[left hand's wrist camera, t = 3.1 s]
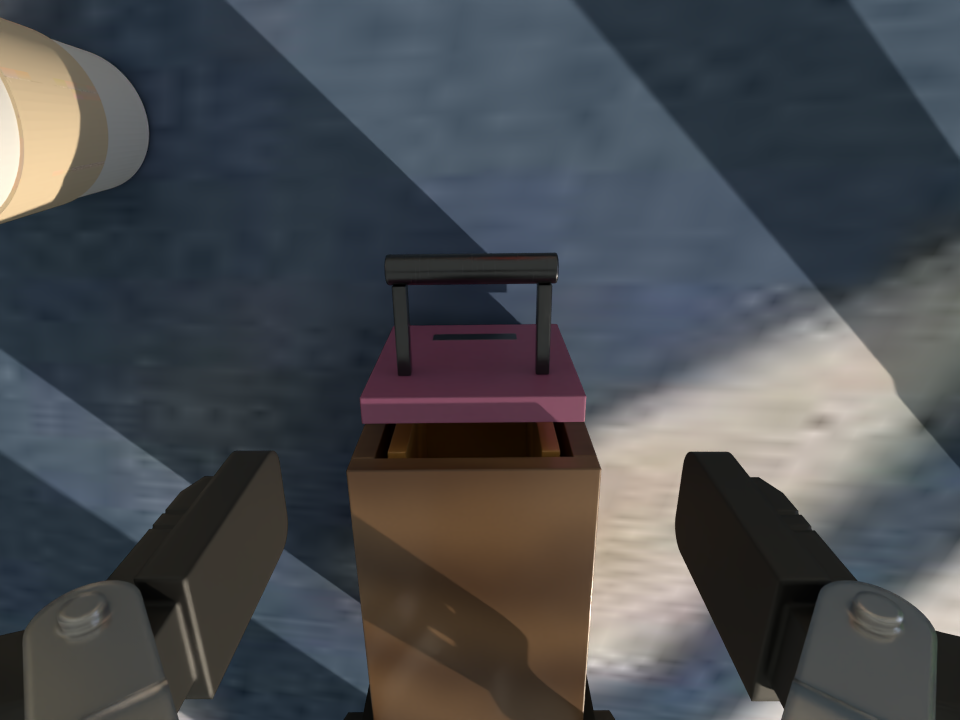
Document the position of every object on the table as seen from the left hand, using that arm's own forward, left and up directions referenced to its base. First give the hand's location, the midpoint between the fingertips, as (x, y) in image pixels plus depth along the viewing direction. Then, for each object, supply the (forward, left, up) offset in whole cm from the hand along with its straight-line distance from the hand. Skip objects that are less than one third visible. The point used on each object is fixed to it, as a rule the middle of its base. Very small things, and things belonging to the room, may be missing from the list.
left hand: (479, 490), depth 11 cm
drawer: (-10, +4, -21) cm, 24 cm away
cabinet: (-15, +7, -22) cm, 28 cm away
